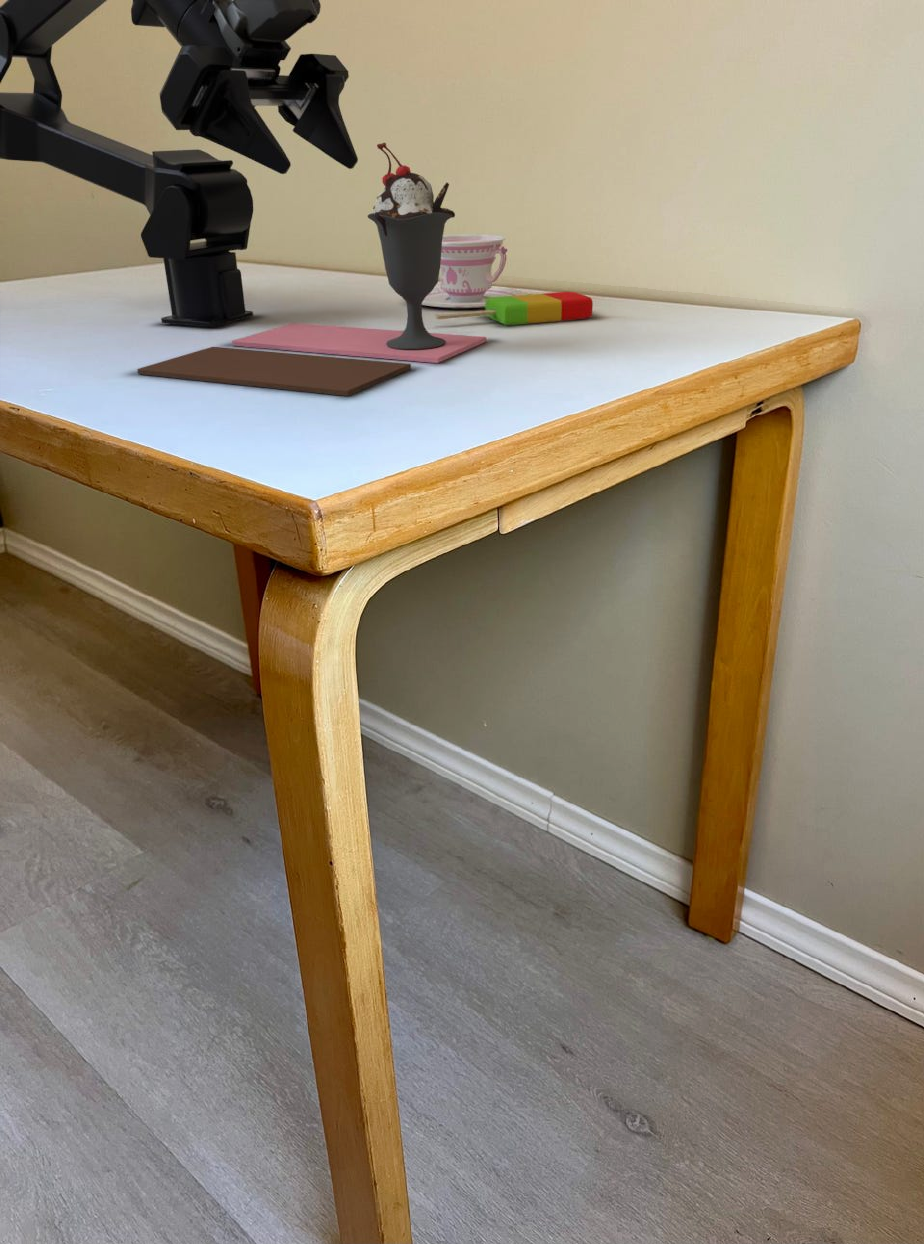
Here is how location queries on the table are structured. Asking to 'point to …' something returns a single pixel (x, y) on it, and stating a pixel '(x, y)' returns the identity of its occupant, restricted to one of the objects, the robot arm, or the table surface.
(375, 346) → the pink mat
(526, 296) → the popsicle
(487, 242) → the teacup
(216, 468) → the table surface
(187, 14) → the robot arm
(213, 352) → the brown mat
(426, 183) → the sundae
